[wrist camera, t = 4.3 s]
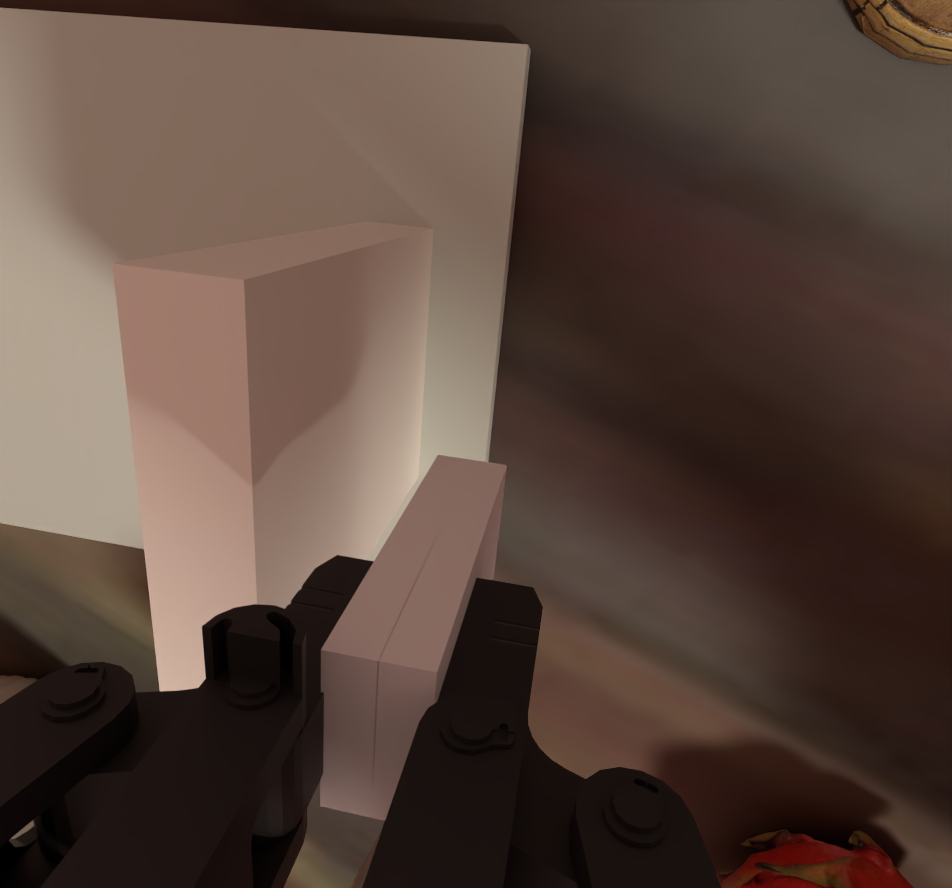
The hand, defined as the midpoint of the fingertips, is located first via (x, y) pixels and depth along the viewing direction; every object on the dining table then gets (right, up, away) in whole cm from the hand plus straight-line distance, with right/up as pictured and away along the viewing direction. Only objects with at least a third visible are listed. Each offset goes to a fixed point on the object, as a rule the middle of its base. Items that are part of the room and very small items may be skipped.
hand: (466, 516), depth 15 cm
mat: (-11, +6, +14) cm, 19 cm away
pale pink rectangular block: (-3, +5, +12) cm, 13 cm away
